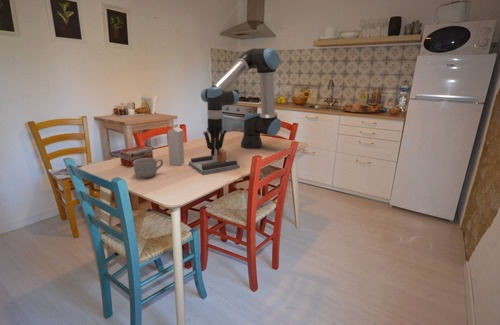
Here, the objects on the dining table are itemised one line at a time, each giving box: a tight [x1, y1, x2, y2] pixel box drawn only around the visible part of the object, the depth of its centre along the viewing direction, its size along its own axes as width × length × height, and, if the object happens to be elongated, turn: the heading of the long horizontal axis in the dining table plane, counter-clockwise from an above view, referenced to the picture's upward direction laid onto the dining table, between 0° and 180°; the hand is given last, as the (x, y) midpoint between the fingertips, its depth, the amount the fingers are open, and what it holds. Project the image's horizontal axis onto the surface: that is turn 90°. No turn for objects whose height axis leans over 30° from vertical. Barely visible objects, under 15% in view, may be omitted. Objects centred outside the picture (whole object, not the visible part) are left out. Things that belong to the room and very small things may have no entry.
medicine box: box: [119, 145, 154, 168], centre depth 156 cm, size 15×8×8 cm, turn 147°
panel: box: [188, 157, 241, 176], centre depth 155 cm, size 22×18×2 cm
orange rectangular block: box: [217, 148, 227, 163], centre depth 156 cm, size 3×6×7 cm, turn 34°
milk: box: [167, 123, 185, 167], centre depth 154 cm, size 6×6×22 cm
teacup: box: [133, 157, 164, 179], centre depth 138 cm, size 14×11×8 cm
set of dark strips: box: [190, 155, 238, 170], centre depth 154 cm, size 20×16×2 cm
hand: (214, 160), depth 155 cm, fingers closed
